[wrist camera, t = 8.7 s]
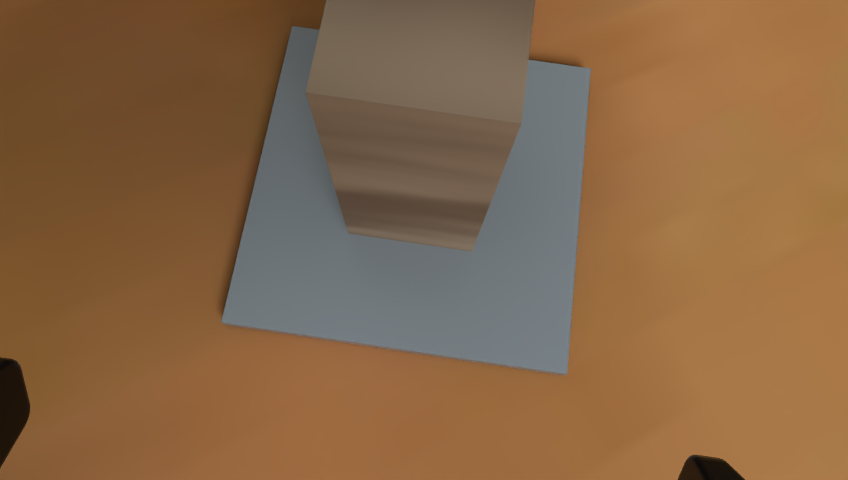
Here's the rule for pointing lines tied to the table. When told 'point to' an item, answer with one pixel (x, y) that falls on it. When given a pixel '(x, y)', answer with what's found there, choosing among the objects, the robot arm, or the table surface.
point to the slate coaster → (416, 263)
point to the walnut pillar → (419, 111)
